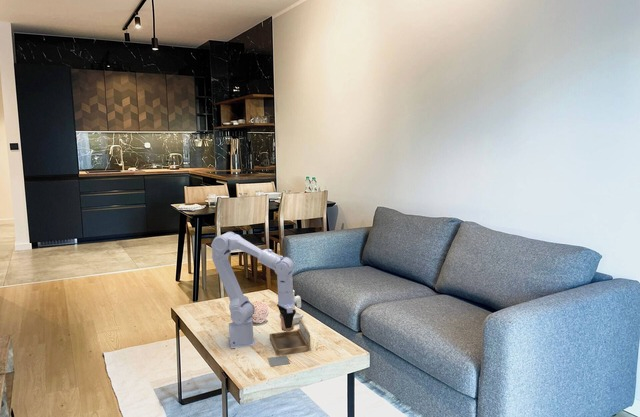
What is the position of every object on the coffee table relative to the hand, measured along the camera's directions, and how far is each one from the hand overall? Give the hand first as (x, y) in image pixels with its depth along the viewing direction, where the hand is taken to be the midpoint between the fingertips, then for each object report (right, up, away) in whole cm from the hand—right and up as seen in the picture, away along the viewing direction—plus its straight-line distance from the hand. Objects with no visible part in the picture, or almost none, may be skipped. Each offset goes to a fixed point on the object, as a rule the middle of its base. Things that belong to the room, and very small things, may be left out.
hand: (286, 325), depth 186 cm
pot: (0, -2, 0) cm, 2 cm away
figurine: (+1, -6, +25) cm, 26 cm away
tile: (-2, -11, -11) cm, 16 cm away
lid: (+7, -8, +4) cm, 11 cm away
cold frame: (0, -9, +2) cm, 9 cm away
